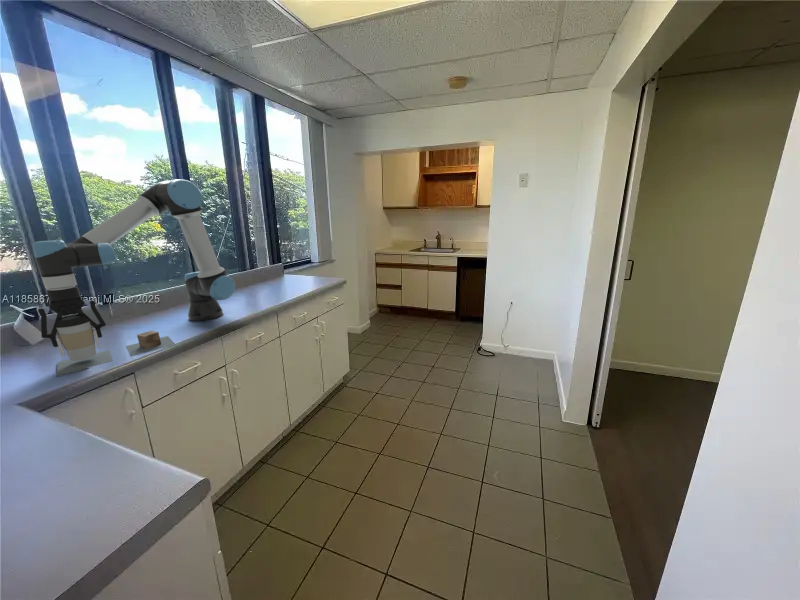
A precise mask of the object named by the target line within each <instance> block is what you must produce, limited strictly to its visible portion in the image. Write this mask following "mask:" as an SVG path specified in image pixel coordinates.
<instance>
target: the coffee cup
mask: <svg viewBox="0 0 800 600" xmlns="http://www.w3.org/2000/svg"><path fill="white" fill-rule="evenodd" d="M55 328H57V336H59V337H60V340H61V343H62V346H63V349H65V350H64V351H66V353H67V356H68V358H69V360H71V361H78V360H84V359H87V358H90V357H93V356H95V355H96V353H97V350H96V344H95V343H96V342H95V341H96V339H95V336H94V332H93V329H94V328H93V326H92V325H91V324H90V320H89V318H86V317H84V316H80V315H79V314H78V313H77V314H70V315H66V316H62V319H61V320H59V321H58V324H56V326H55Z"/></svg>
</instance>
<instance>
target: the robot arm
mask: <svg viewBox="0 0 800 600" xmlns="http://www.w3.org/2000/svg"><path fill="white" fill-rule="evenodd" d="M202 201H203V195H202V191H201V190H200V188H199V187H198V186H197V185H196V184H195V183H194V182H192V181H190V180H187V179H178V178H176V179H171V180H163V181H160V182H157V183H156V184H154V185H152V186H151V187H149V188H147V190H145V191H144V192H142V193H141V194H139V195H138V196H137V199H136V201H134V202H132V203H130V204H129V205H128V206H126V207H125V208H123V209H122V210H120V211H118V212H117V213H115V214H113V215H112V216H110V217H109V218H108V219H106V220H104V221H103V222H102V223H100V224H98V225H97V226H95V227H93V228H92V229H90V230H89V231H87V232H86V233H84V234H83V235H81V236H80V237H79V238H76V239H75V240H73V241H72V242H67V243H65V241H64V240H62V239H55V240H39V241H35V242H33V243H32V244H31V246H32V252H33V257H34V258H35V261H36V264H37V267H38V271H39V272H40V275H41V280H42V283H43V285H44V288H45V289H46V295H47V298H48V300H49V305H48V306H45V307H39V308H38V309H37V311H38V313H39V315H40V322H41V324H40V326H41V327H40V330H41V333H40V334H41V335H40V336H41V338H42V339H50V341H51V344H52V346H53V347H54V348H57V347H58V350H59V352H60V355H61V357H64V356H66V354H65V350H64V349H65V348H64V346H63V344H62V342H61V340H60V337H59V335H57V334H58V331H57V328H55V326H56V324H58V321H59V320H61V319H62V317H66V316H71V315H77V314H79V315H80V316H84V317H86V318H89V320H90V324H91V326H92V329H93V335H94V340H95V341H96V342H95V343H96V345H97V348H98V349H99V348H102V346H101V342H100V338H102V337H103V334H102V330H101V328H103V327H106V322H105V320H104V318H103V316H102V315H101V313H100V311H99V310H98V308H97V306H96V301H95V300H94V299H90V300H84V299H83V298H82V297H81V293H80V289H79V287H78V286H77V285H78V283H77V279H76V276H75V273H74V268H76V269H77V268H84V267H93V266H102V265H103V266H105V265H108V264H113V263H114V262H115V261H116V252H115V250H114V248H113V246H112V245H113V244H115V243H116V242H117V241H118V240H120V239H121V238H123V237H124V236H126V235H127V234H129V233H130V232H131V231H133V230H134V229H136V228H137V227H139V226H140V225H141V224H144V222H147V220H149V219H150V218H152V217H153V216H156V217H157V216H159V215H161V214H163V213H165V212H167V211H169V212H170V214H171V217H173V218H175V219H176V220H177V221H178V223H179V225H180V228H181V232H182V233H183V235H184V238H185V240H186V243H187V245H188V248H189V250H190V252H191V254H192V258H193V259H194V262H195V264H196V266H197V269H198V271H193V272H189V273H185V274H184V283H185V286H186V287H185V288H186V292H187V297H188V302H189V306H188V314H187V317H188V320H189V321H192V322H199V321H200V322H201V321H207V320H212V319H216V318H219V317H221V316H222V315H223V314H224V313H223V308H222V306H221V305H220V303H219V302H218V301H225V300H227V299H229V298H230V297H232V296H233V294H234V292H236V291H235V290H236V282H235V280H234V279H233V277H231V276H229V275H228V274H227V272H226V269H225V268H224V267H222V266H220V264H219V261H218V258H217V255H216V253H215V251H214V248H213V246H212V243H211V239H210V237H209V235H208V232H207V230H206V228H205V227H206V226H205V225H204V222H203V220H202V217H201V214H202V212H203V209H202V207H201V205H202ZM84 305H86V306H87V307H89V308H90V309H91V311H92V312H93V314H94V315H95V317H96V319H97V320H98V322H99V323H97V322H96V321H95V320H94V319H93V318H91V317H90V316H89V315H88V314H87V313H86V312H85V311H84V310H83V309H82V308H83V306H84ZM50 310H51V311H53V312H54V313H56V317H55V319H54V320H55V321H54V323H53V325H52V328H51V332H49V333H48V314H49V312H50Z"/></svg>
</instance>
